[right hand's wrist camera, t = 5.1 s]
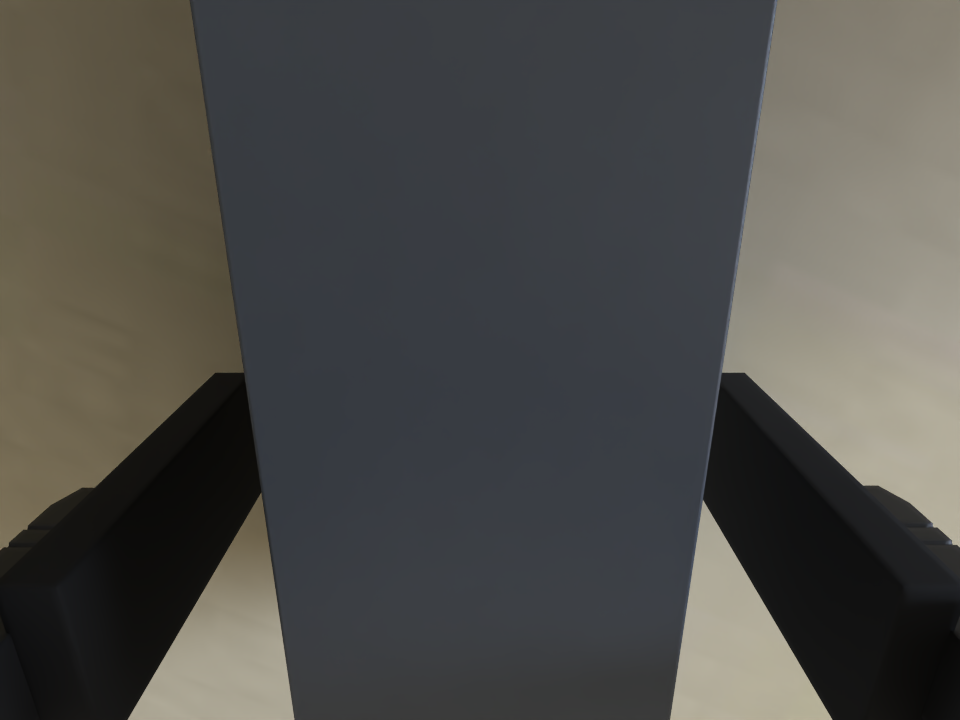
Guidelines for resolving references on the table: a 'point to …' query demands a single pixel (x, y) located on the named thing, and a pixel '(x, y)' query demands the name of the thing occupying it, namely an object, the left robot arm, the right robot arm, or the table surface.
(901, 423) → the table surface
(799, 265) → the table surface
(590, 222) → the post
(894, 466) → the table surface
